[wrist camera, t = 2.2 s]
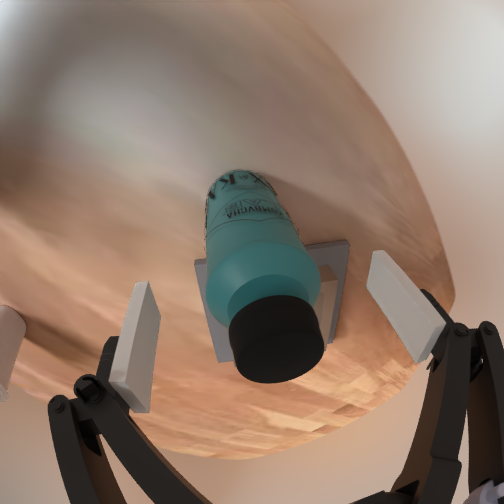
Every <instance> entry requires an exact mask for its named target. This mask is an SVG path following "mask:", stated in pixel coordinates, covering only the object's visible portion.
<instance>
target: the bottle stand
mask: <svg viewBox="0 0 504 504" xmlns="http://www.w3.org/2000/svg"><path fill="white" fill-rule="evenodd" d="M349 246H350V244H349V243H348V242H347V240H343V241H336V242H328V243H321V244H313V245H306V246H304V247H305V249H306V250H307V252H308V254H309V255H310V256H311V258H312V259H313V260H314V262H315V264H316V266H317V268H318V270H319V273H320V279H321V288H320V293H319V296H318V298H317V301H316V303H315V304H314V306H313V307H312V308H313V309H314V311H315V313H316V316H317V318H318V321H319V327H320V330H321V334H322V337H323V340H324V347H325V348H324V351H326V347H327V344H330V343H333V339H334V334H335V329H336V325H337V320H338V314H339V309H340V304H341V298H342V292H343V287H344V280H345V274H346V267H347V261H348V253H349ZM206 261H207V259H200V260H195V262H194V266H195V271H196V275H197V280H198V284H199V288H200V293H201V297H202V301H203V305H204V310H205V314H206V318H207V322H208V326H209V330H210V334H211V337H212V341H213V345H214V349H215V353H216V356H217V360H218V363H220V362H228V361H234V366H235V367H236V365H235V360H234V356H233V351H232V349H231V346H230V342H229V334H228V330H229V329H228V328H226V327H225V326H223V325H222V324H220V323H219V322H218V321H217V320H216V319H215V318H214V317H213V315H212V314H211V312H210V311H209V309H208V306H207V303H206V297H205V288H206V283H207V279H206Z"/></svg>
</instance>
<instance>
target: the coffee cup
mask: <svg viewBox="0 0 504 504" xmlns="http://www.w3.org/2000/svg"><path fill="white" fill-rule="evenodd" d="M25 332H26V324H25V322H24V320H23V319H22V318H21V316H20V315H19V314H18V313H17V312H16V311H15V310H13V309H12V308H10V307H8V306H5V305H2V306H0V404H1V403H2V402H4V401H5V400H6V399H7V398H8V392H7V389H8V384H9V381H10V377H11V374H12V370H13V367H14V364H15V361H16V358H17V355H18V352H19V349H20V346H21V343H22V340H23V338H24V335H25Z"/></svg>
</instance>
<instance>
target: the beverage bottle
mask: <svg viewBox="0 0 504 504" xmlns="http://www.w3.org/2000/svg"><path fill="white" fill-rule="evenodd" d="M221 176H222V175H221ZM261 176H262V175H260V176H259V175H257V174H256V173H254V171H253V172H250V170H249V171H243V170H239V171H234V170H233V172H230V171H229V173H228V172H227V174H225V175H223V176H222V177H220V178H219V179H218V178H217V179H218V180H217V179H216V180H217V181H216V180H215V181H216V182H215V181H214V182H215V183H214V184H213V185H212V186H211V188H209V189H210V192H209V194H207V195H208V203H207V199H206V206H207V209H206V208H205V214H207V215H206V226H204V227H206V235H205V236H206V250H207V253H206V254H207V261H206V279H207V283H206V288H205V297H206V303H207V306H208V309H209V311H210V312H211V314H212V315H213V317H214V318H215V319H216V320H217V321H218V322H219V323H220V324H222V325H223V326H225V327H226V328H228V329H229V330H228V334H229V342H230V346H231V349H232V351H233V356H234V360H235V365H236V367H237V369H238V371H239V372H240V374H241V375H242V376H244V377H245V378H247V379H249V380H251V381H254V382H258V383H280V382H285V381H288V380H292V379H294V378H297V377H299V376H301V375H303V374H305V373H307V372H308V371H309V370H311V369H312V368H313V367H315V366H316V365H317V363H318V362H319V361H320V359H321V358H322V356H323V353H324V348H325V347H324V340H323V337H322V334H321V330H320V327H319V321H318V318H317V316H316V313H315V311H314V309H313V308H312V307H313V306H314V304H315V303H316V301H317V298H318V296H319V293H320V288H321V279H320V273H319V270H318V268H317V266H316V264H315V262H314V260H313V259H312V258H311V256H310V255H309V254H308V252H307V250H306V249H305V247H304V245H303V243H302V242H301V240H300V238H299V236H298V234H297V231H296V230H295V228H294V226H293V222H292V221H291V220H290V219H289V217H288V216H289V215H288V216H287V214H286V213H287V212H285V211H286V209H285V211H284V209H283V208H282V206H281V204H280V203H279V201H278V199H277V198H276V196H275V194H276V193H275V191H274V190H273V191H274V193H275V194H274V193H273V191H272V190H271V188H272V187H271V186H269V185H270V183H268V182H266V181H265V180H264V179H265V178H264V179H263V178H262V177H261ZM268 184H269V185H268ZM270 187H271V188H270ZM272 189H273V188H272ZM208 191H209V190H208ZM276 195H277V194H276ZM206 198H207V196H206ZM283 206H284V205H283ZM206 210H207V212H206ZM288 214H289V213H288ZM291 222H292V223H291ZM204 231H205V229H204ZM204 234H205V233H204ZM204 240H205V239H204ZM204 250H205V249H204ZM205 252H206V251H205Z"/></svg>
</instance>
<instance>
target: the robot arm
mask: <svg viewBox="0 0 504 504" xmlns="http://www.w3.org/2000/svg"><path fill="white" fill-rule="evenodd" d="M366 288H367V289H368V291H369V292H370V294H371V295H372V297H373V298H374V299H375V301H376V302H377V304H378V305H379V307H380V308H381V310H382V311H383V313H384V314H385V316H386V317H387V319H388V320H389V322H390V323H391V325H392V327H393V328H394V330H395V331H396V333H397V334H398V336H399V338H400V339H401V341H402V342H403V344H404V346H405V347H406V349H407V350H408V352H409V354H410V355H411V357H412V359H413V360H414V362H415V364H417V363H419V362H422V361H424V360H426V359H427V358H428V356H429V354H430V353H432V354H433V356H434V357H433V359H432V360H431V362H430V363H429V365H428V367H427V370H428V369H429V368H430V373H429V378H428V384H427V389H426V393H425V398H424V402H423V407H422V410H421V414H420V418H419V422H418V426H417V429H416V432H415V436H414V439H413V442H412V445H411V448H410V451H409V454H408V458H407V460H406V463H405V465H404V468H403V471H402V473H401V474H400V475H399V477H398V478H397V479H396V481H395V483H394V485H393V487H392V489H391V491H390V492H385V491H381V492H379V493H376V494H373V495H371V496H368V497H366V498H363V499H360V500H358V501H355V502H353V503H350V504H451V501H452V499H453V496H454V493H455V490H456V486H457V483H458V479H459V476H460V472H461V467H462V464H461V462H460V461H459V460H458V454H459V450H460V445H461V440H462V435H463V430H464V423H465V417H466V410H467V416H468V434H469V469H468V485H469V494H470V495H469V497H468V499H466V500H465V502H464V503H463V504H504V349H503V345H502V342H501V339H500V336H499V333H498V330H497V328H496V326H495V325H494V324H492V323H491V322H488V321H483V322H482V323H481V324H480V325H479V328H478V329H477V328H476V329H468V328H467V327H466V326H465V325H464V324H462V323H454V322H453V320H452V319H451V318H450V317H449V315H448V314H447V313H446V311H445V310H444V309H443V308H442V307H441V306H440V304H439V303H438V302H437V301H436V299H435V298H434V297H433V296H432V295H431V294H430V293H429V292H427V291H426V290H424V289H420V290H419V289H418V287H417V286H416V285H415V284H414V283H413V282H412V281H411V279H410V278H409V277H408V276H407V275H406V274H405V273H404V271H403V270H402V269H401V268H400V267H399V266H398V265H397V264H396V263H395V262H394V260H393V259H392V258H391V257H390V256H389V255H388V254H387V253H386V252H385V251H384V250H377V251H373V254H372V260H371V265H370V270H369V275H368V280H367V285H366ZM160 320H161V315H160V312H159V310H158V307H157V304H156V302H155V299H154V296H153V293H152V290H151V287H150V284H149V281H142V282H136V283H135V286H134V289H133V292H132V296H131V299H130V302H129V305H128V309H127V312H126V315H125V319H124V322H123V326H122V329H121V333H120V336H110V338H109V339H108V340H107V342H106V343H105V345H104V348H103V351H102V355H101V358H100V360H101V361H100V362H99V366H98V369H97V373H96V376H95V375H92V374H85V375H83V376H81V377H80V378H79V379H78V380H77V381H76V383H75V384H74V393H75V395H76V396H77V397H78V398H75V399H71V400H69V399H68V398H67V397H65V396H64V395H56V396H54V397H53V398H52V399H51V400H50V401H49V404H48V416H49V422H50V428H51V433H52V439H53V443H54V448H55V452H56V457H57V461H58V464H59V468H60V472H61V476H62V479H63V482H64V485H65V489H66V491H67V495H68V497H69V500H70V503H71V504H127V503H126V501H125V499H124V497H123V494H122V492H121V490H120V488H119V486H118V484H117V481H116V479H115V477H114V474H113V472H112V470H111V467H110V464H109V462H108V459H107V456H106V454H105V451H104V448H103V445H102V442H101V439H100V436H99V434H102V435H103V437H104V438H105V440H106V441H107V443H108V444H109V446H110V447H111V449H112V450H113V452H114V453H115V455H116V456H117V457H118V459H119V460H120V462H121V463H122V464H123V466H124V467H125V468H126V470H127V471H128V472H129V474H130V475H131V476H132V477H133V479H134V480H135V481H136V482H137V484H138V485H139V486H140V487H141V488H142V489H143V491H144V492H145V493H146V494H147V496H148V497H149V498H150V499H151V500H152V501H153V502H154V503H155V504H212V503H211V502H210V501H209V500H207V499H206V498H205V497H204V496H203V495H202V494H201V493H199V491H197V490H196V489H195V488H194V487H193V486H192V485H191V484H190V483H189V482H188V481H187V480H186V479H185V478H184V477H183V476H182V475H181V474H180V473H179V472H178V471H177V470H176V469H175V468H174V467H173V466H172V465H171V464H170V463H169V462H168V461H167V460H166V459H165V458H164V456H163V455H162V454H161V453H160V452H159V451H158V450H157V448H156V447H155V446H154V445H153V444H152V443H151V441H150V440H149V439H148V438H147V437H146V435H145V434H144V433H143V432H142V431H141V429H140V428H139V427H138V426H137V424H136V423H135V422H134V420H133V419H132V418H131V416H130V415H129V408H131V410H132V411H133V412H134V413H149V409H150V398H151V388H152V379H153V370H154V362H155V354H156V347H157V340H158V333H159V326H160ZM482 359H483V363H482ZM430 366H431V367H430Z"/></svg>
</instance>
